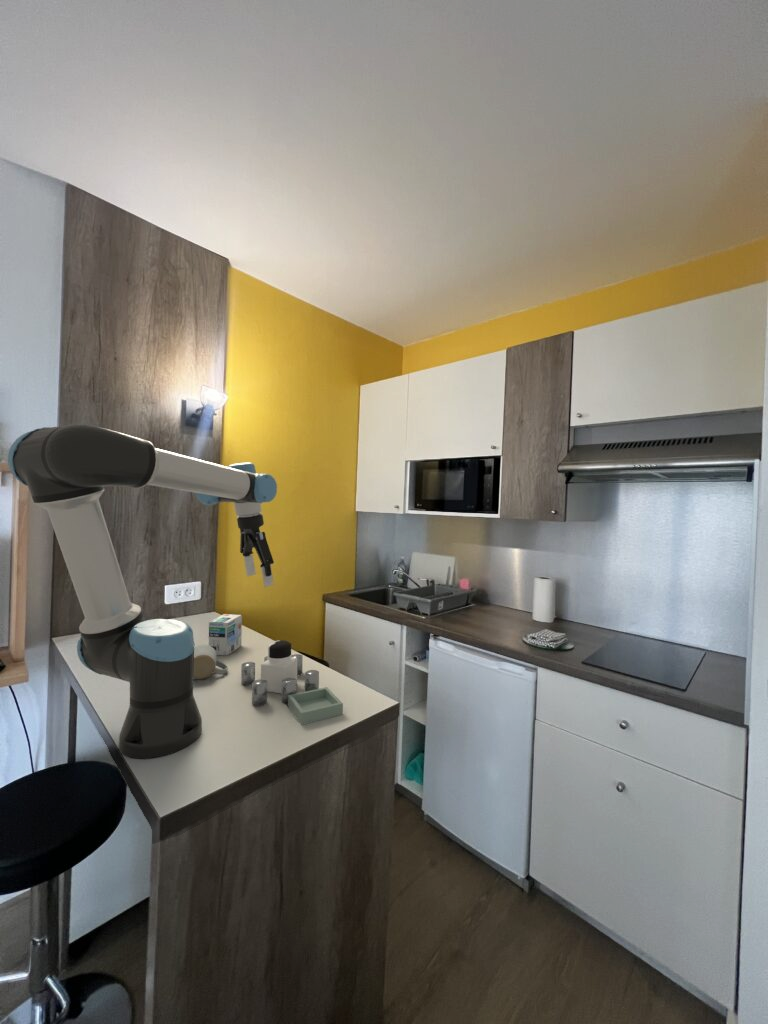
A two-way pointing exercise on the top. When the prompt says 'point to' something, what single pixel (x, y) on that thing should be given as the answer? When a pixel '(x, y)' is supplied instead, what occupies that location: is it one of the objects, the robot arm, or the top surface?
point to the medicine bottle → (278, 665)
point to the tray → (315, 705)
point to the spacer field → (287, 684)
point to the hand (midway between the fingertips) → (259, 580)
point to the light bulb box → (225, 633)
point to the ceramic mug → (207, 662)
